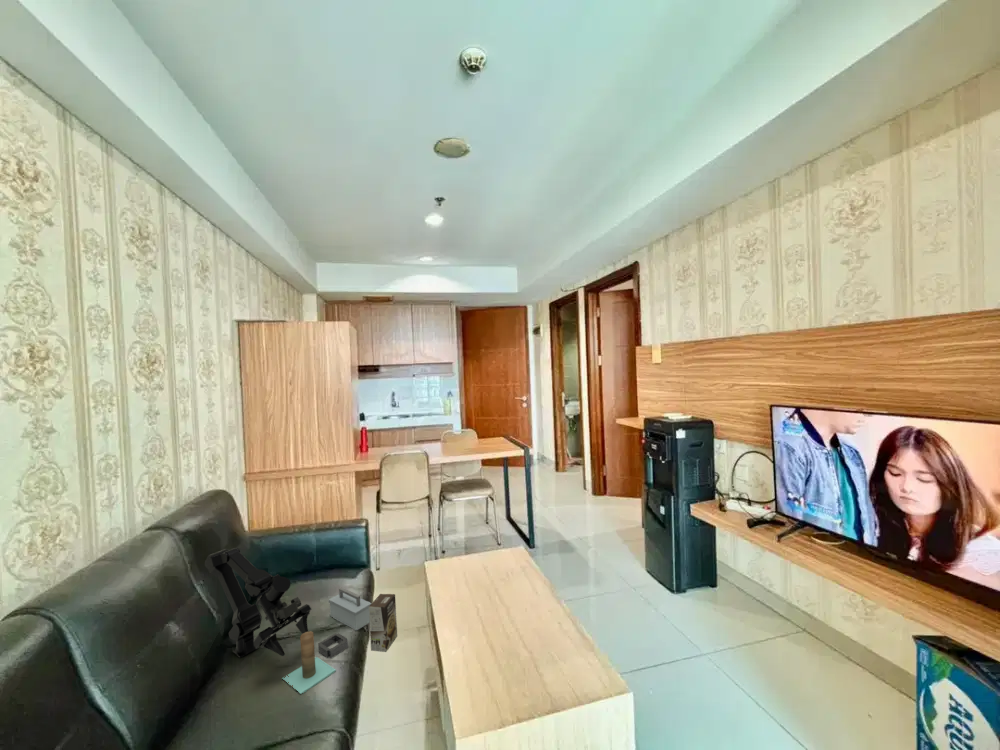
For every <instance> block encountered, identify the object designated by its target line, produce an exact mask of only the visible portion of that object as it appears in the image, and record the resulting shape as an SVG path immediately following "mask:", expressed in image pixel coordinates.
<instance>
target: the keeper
mask: <svg viewBox="0 0 1000 750" xmlns="http://www.w3.org/2000/svg"><path fill="white" fill-rule="evenodd" d="M335 643H337V644H336V645H335V646H333V647H331V648H329V647H330V646H332V645H333V644H335ZM317 645H318V653H319V654H320V655H322V656H324V657H325V658H326V659H328V658H330V659H332V658H335V656H337V655H338V654H340V653H342V652H343V651H345V650H346V649H347V648H349V641H348V638H347V637H346V636H344V635H342V634H341V633H339V632H338V633H333V634H332V635H330V636H329V637H326V638H325V639H323V640H321V641H320V642H318V643H317Z"/></svg>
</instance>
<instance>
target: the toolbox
mask: <svg viewBox="0 0 1000 750" xmlns="http://www.w3.org/2000/svg"><path fill="white" fill-rule="evenodd" d="M328 603H329V610H330V611H329V613H330V614H329V615H330V618H332V617H333V619H335V620H336V621H338V622H339V623H342V624H343V625H345V626H348V627H349V628H351V629H353V630H355V631H358V630H360V629H361V628H364V627H365V626H366V625H369V624H370V620H369V606H370V605H371V604H372V603H373V602H370V601H368V600H365V599H363V598H362V597H361V595H359V594H357V593H354V592H353V591H350V590H348V589H346V588H344V587H339V588H338V594H337V595H334V596H332V597H331V598H328Z"/></svg>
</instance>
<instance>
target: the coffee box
mask: <svg viewBox="0 0 1000 750" xmlns="http://www.w3.org/2000/svg"><path fill="white" fill-rule="evenodd" d="M371 603H372V604H371V605H370V606H369V620H370V623H369V634H370V635H369V636H370V638H369V640H370V651H372V652H381V653H388V651H389V649H390V647H391V646H392V644H393V643H394V642H395V640H396V639H397V637H398V625H397V622H398V621H397V606H396V605H397V604H396V594H394V593H380V594H379V595H377V597H376V598H375V599H374V600H373V601H372V602H371Z"/></svg>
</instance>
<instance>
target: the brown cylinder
mask: <svg viewBox="0 0 1000 750" xmlns="http://www.w3.org/2000/svg"><path fill="white" fill-rule="evenodd" d="M314 636H315V635H314V631H309V630H308V632H305V633H303V634H302V633H301V635H300V636H299V639H300V657H301V666H302V675H303V678H310V677H312V676H314V675H315V673H316V667H315V658H316V656H315V655H316V654H315V652H316V651H315V638H314Z"/></svg>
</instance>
